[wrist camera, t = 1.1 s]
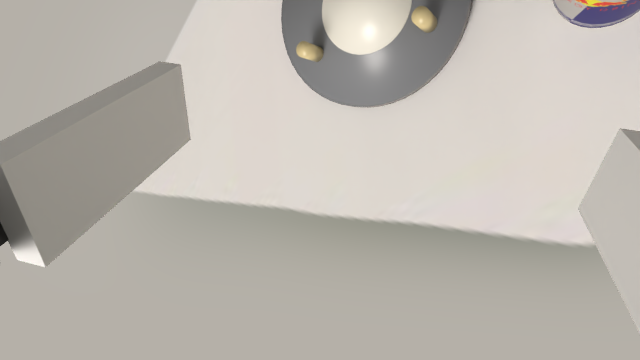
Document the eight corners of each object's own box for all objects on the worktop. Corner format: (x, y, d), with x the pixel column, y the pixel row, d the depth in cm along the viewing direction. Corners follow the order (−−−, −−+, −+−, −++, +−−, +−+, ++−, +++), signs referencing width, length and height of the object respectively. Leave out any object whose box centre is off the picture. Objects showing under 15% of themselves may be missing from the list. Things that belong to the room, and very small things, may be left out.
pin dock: (322, -113, 32) (301, -136, 29) (512, -81, 26) (509, -107, 23) (267, 72, 36) (244, 67, 33) (419, 136, 30) (407, 136, 27)
